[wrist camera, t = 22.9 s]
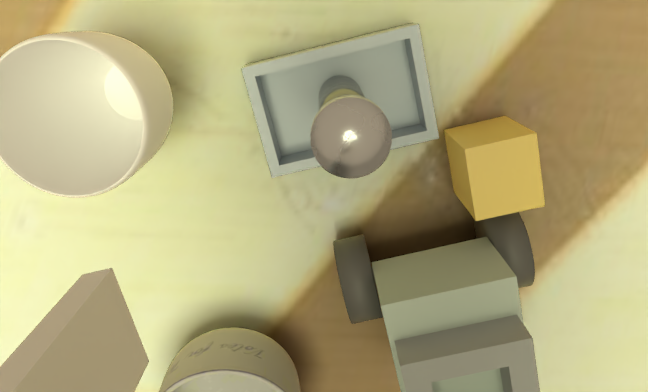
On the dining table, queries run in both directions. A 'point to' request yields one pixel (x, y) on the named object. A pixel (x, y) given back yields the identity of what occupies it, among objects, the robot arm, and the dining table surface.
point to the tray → (347, 60)
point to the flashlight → (349, 130)
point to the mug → (81, 111)
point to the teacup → (231, 364)
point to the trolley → (450, 308)
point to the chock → (495, 167)
